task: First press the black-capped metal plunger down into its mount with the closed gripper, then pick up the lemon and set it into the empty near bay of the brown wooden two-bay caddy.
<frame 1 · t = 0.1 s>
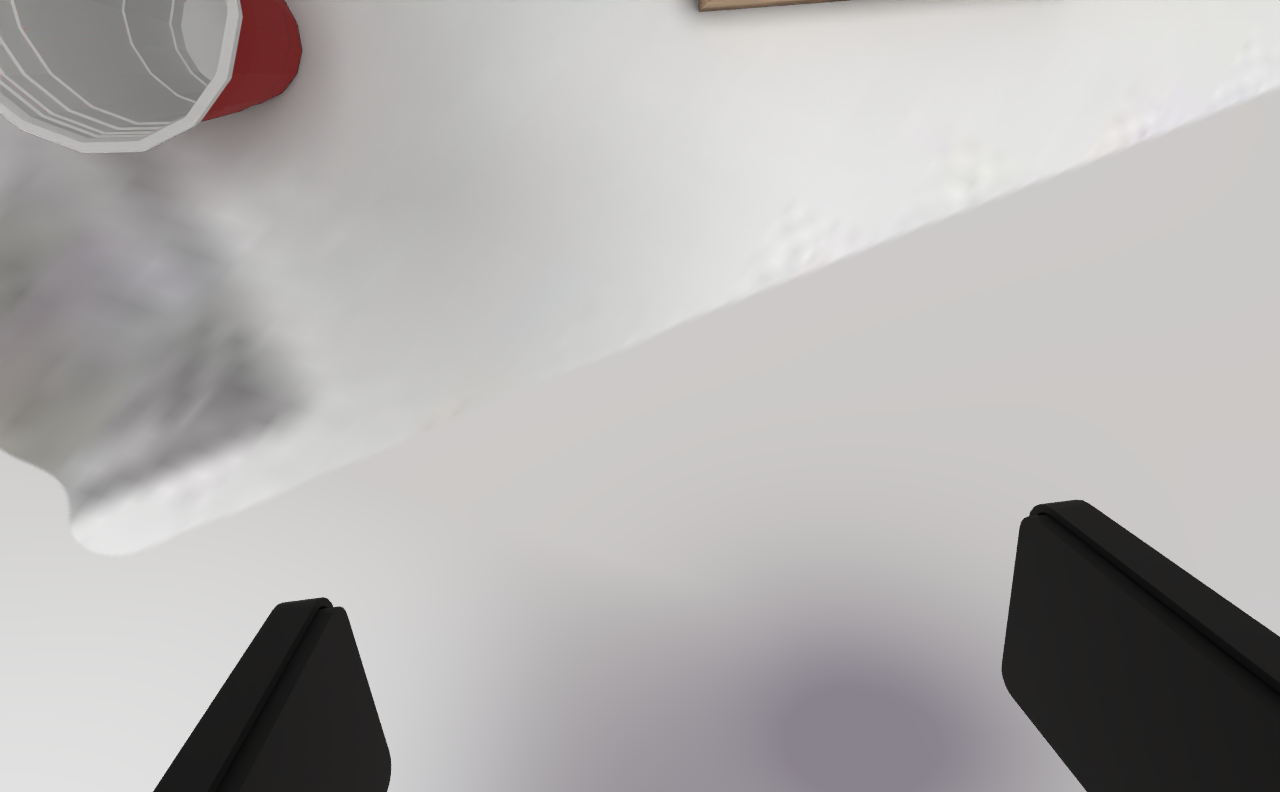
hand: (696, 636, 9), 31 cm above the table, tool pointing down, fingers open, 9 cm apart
plastic cup: (239, 36, 33), on the table
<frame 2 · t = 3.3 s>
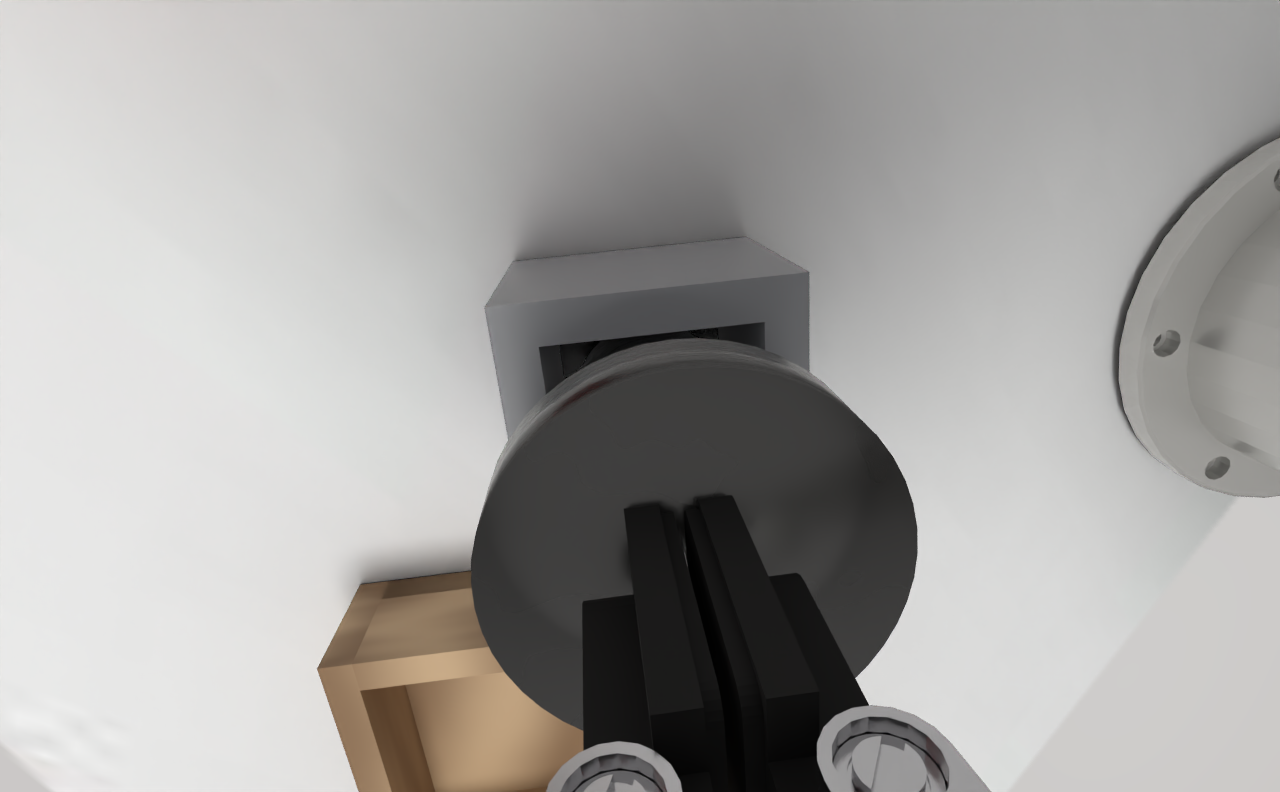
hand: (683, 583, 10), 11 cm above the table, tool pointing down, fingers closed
mount: (641, 360, 21), on the table
caddy: (581, 768, 27), on the table
plunger: (667, 460, 14), point 7 cm above the table, slide at -0.6 cm, touching gripper
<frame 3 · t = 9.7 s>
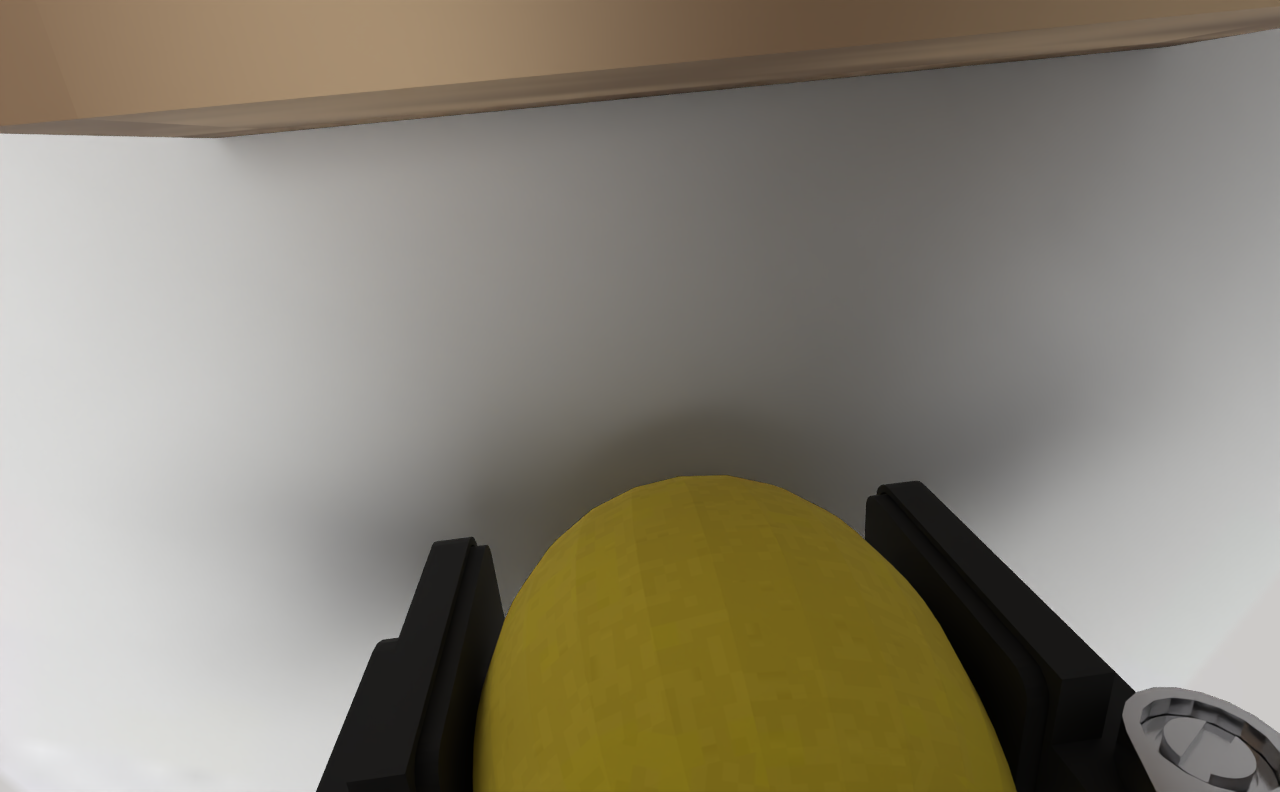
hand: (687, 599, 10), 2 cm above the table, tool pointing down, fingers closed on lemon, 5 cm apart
lemon: (672, 536, 12), on the table, touching gripper
when the fingers open (4 cm above the table, at t = 14.9 s): lemon drops 2 cm, resting on caddy.
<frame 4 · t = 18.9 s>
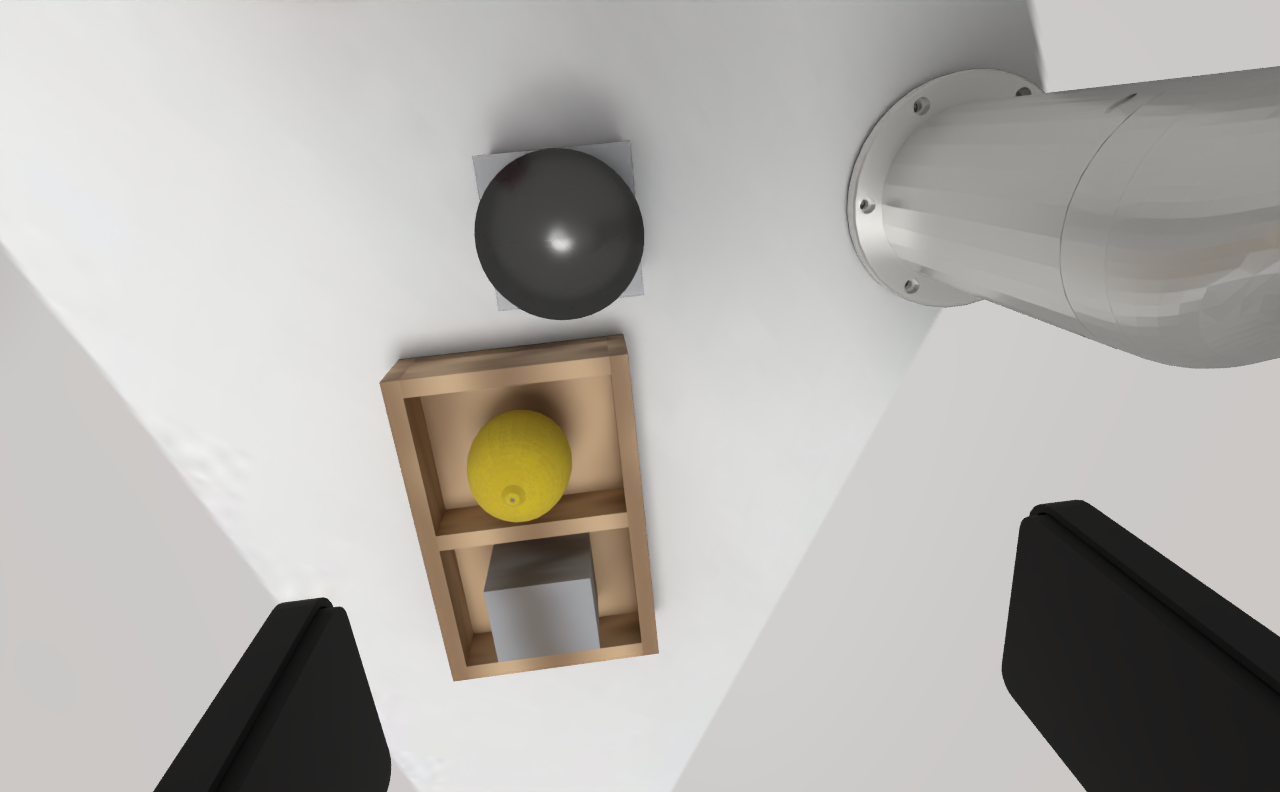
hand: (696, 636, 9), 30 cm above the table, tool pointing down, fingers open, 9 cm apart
mount: (564, 216, 36), on the table
caddy: (537, 497, 42), on the table
lemon: (527, 433, 40), point 1 cm above the table, touching caddy
plunger: (562, 226, 32), point 5 cm above the table, slide at -2.7 cm
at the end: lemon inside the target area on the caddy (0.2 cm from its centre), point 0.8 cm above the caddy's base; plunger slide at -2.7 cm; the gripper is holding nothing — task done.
